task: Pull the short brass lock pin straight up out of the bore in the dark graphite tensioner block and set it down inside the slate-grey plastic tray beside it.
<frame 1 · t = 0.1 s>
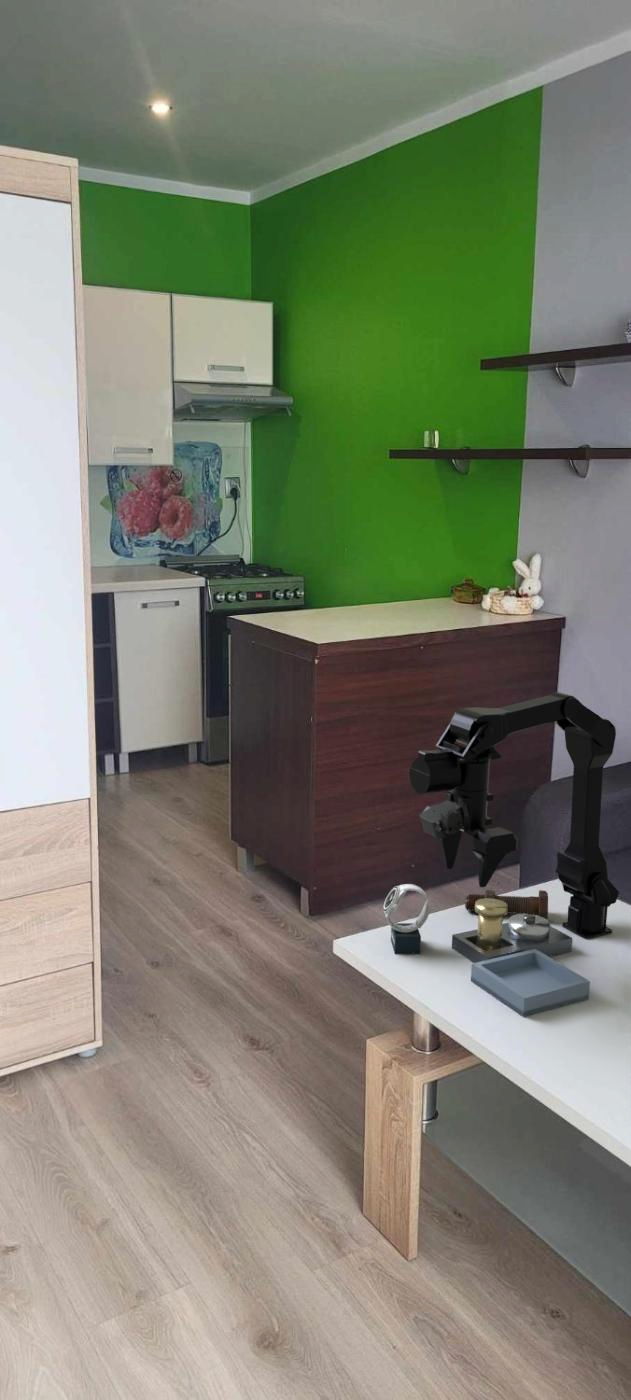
hand: (465, 877, 176), 14 cm above the table, fingers open, 9 cm apart
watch: (404, 947, 183), on the table
lock pin: (488, 955, 180), resting in tensioner block
tray: (528, 989, 168), on the table
tensioner block: (511, 950, 183), on the table
bolt: (505, 916, 198), on the table
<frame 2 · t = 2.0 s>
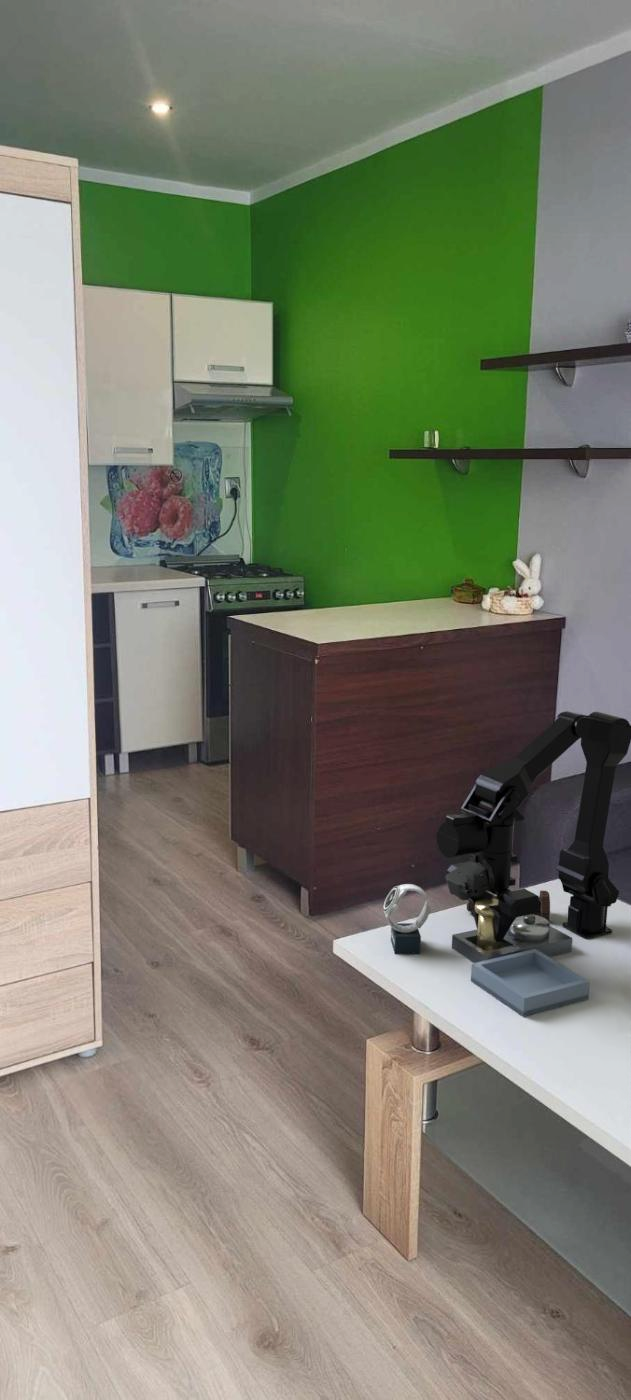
hand: (489, 935, 180), 4 cm above the table, fingers closed on lock pin, 5 cm apart
lock pin: (488, 955, 180), resting in tensioner block, touching gripper
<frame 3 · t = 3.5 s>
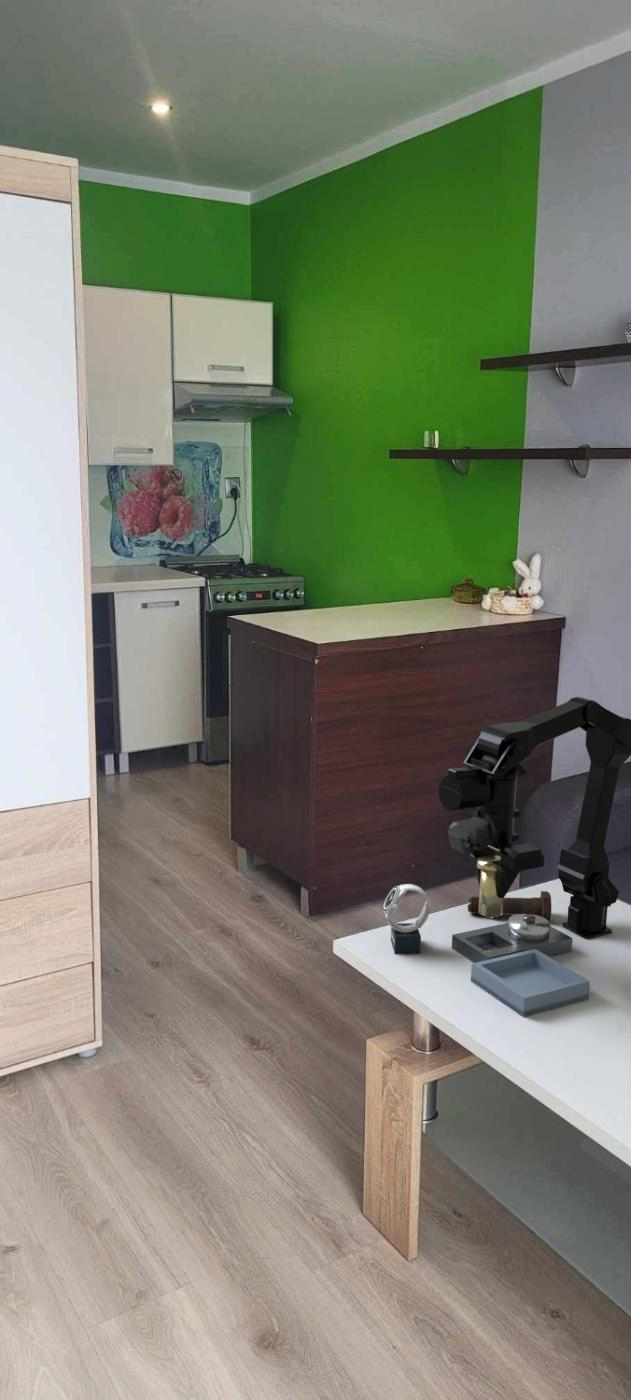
hand: (491, 892, 178), 11 cm above the table, fingers closed on lock pin, 5 cm apart
lock pin: (490, 912, 179), point 8 cm above the table, touching gripper
when the fingers open (6 cm above the table, at t = 6.3 s): lock pin drops 1 cm, resting on tray.
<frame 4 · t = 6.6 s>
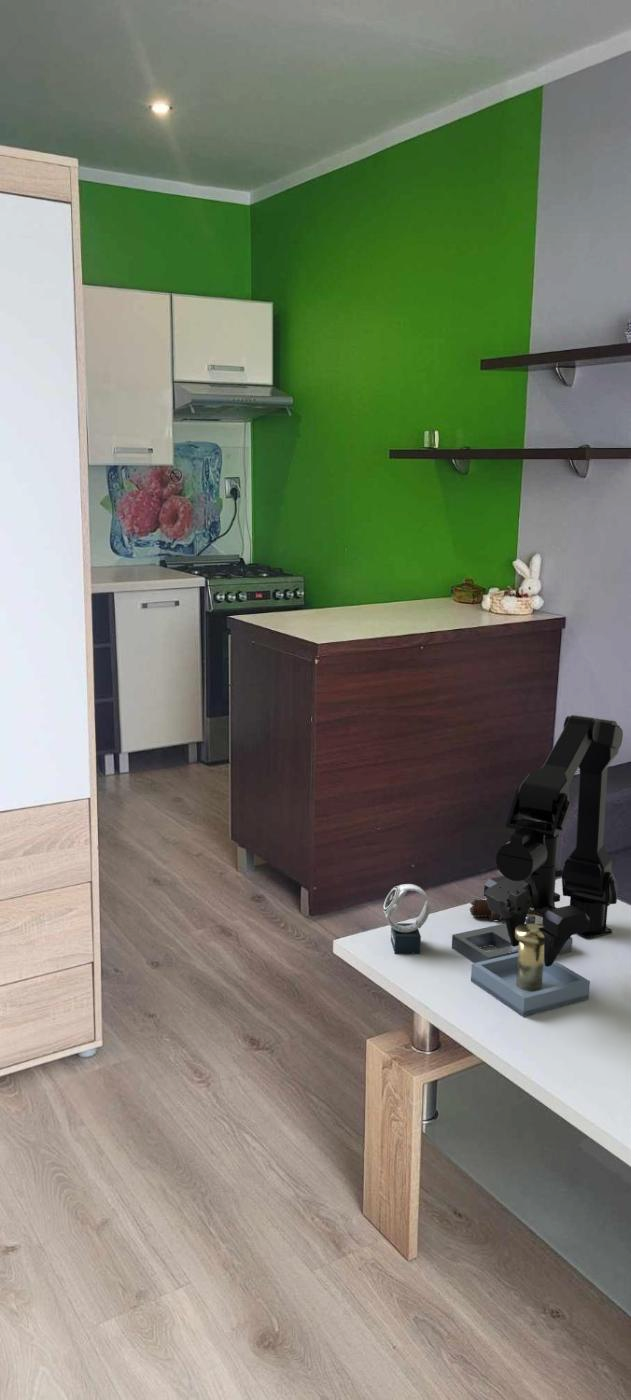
hand: (531, 955, 167), 6 cm above the table, fingers open, 8 cm apart
lock pin: (529, 985, 168), point 1 cm above the table, touching tray
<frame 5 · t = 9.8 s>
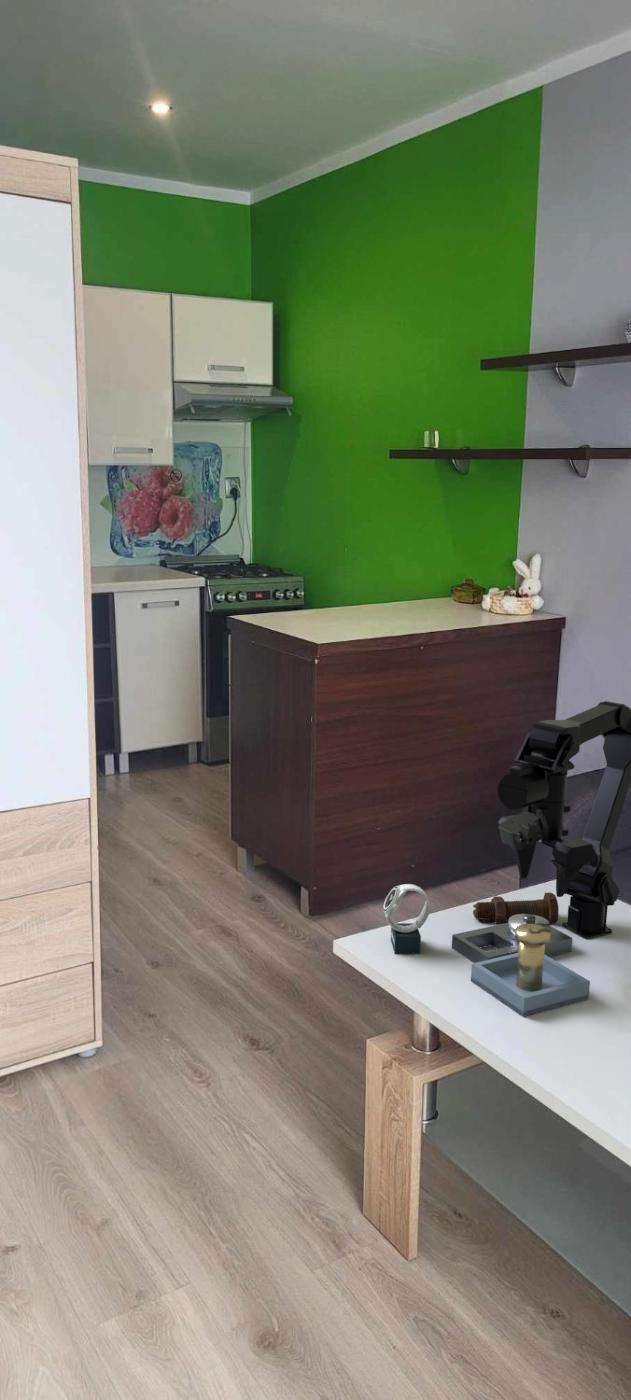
hand: (541, 887, 179), 12 cm above the table, fingers open, 9 cm apart
at the end: lock pin inside the target area on the tray (0.0 cm from its centre), point 0.8 cm above the tray's base; the gripper is holding nothing; lock pin moved 13.2 cm from its start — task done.
